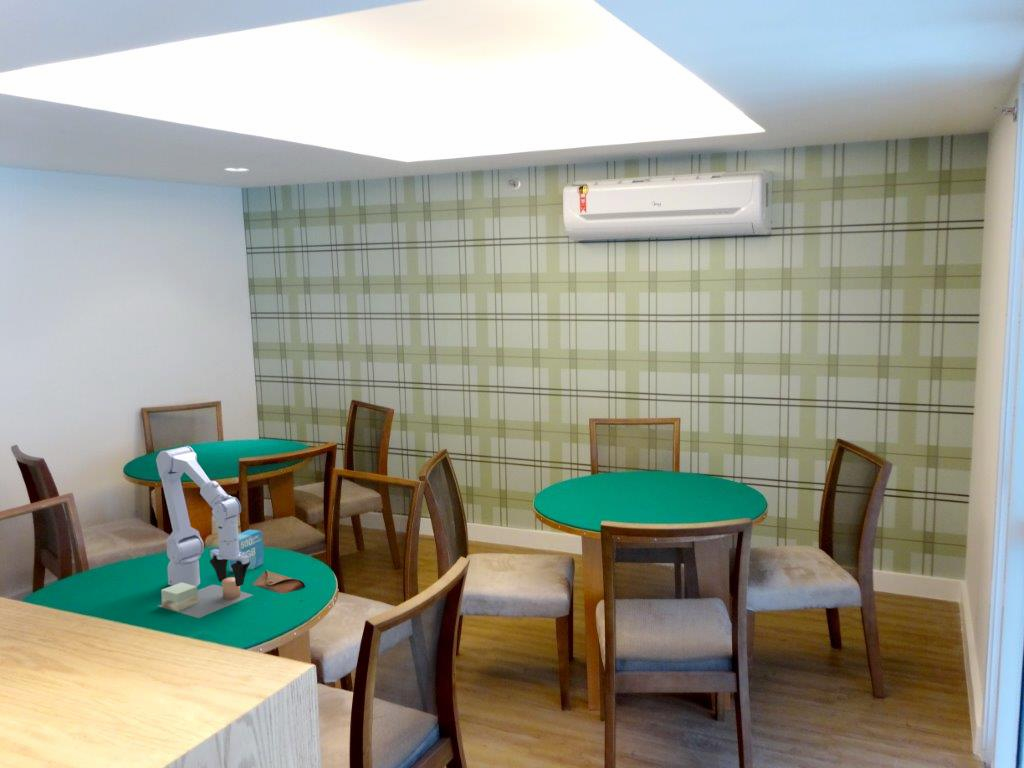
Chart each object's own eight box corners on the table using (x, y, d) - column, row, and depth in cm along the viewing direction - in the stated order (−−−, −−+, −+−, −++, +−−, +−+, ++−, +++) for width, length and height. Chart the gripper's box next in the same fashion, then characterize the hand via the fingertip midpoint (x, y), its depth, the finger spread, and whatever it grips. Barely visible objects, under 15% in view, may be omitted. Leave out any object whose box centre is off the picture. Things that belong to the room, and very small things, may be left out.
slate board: (157, 609, 248) (157, 605, 248) (213, 587, 265) (213, 584, 265) (198, 621, 239) (198, 618, 238) (253, 598, 256) (253, 594, 255)
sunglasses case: (245, 587, 264) (253, 566, 267) (261, 591, 270) (268, 571, 272) (285, 598, 255) (292, 576, 257) (300, 603, 260) (308, 582, 262)
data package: (240, 575, 275) (238, 540, 273) (229, 574, 277) (227, 538, 275) (264, 564, 286) (262, 529, 284) (253, 562, 288) (251, 528, 286)
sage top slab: (161, 598, 247) (161, 589, 247) (182, 590, 253) (181, 582, 253) (177, 602, 243) (176, 594, 243) (197, 594, 249) (197, 586, 249)
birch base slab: (162, 606, 247) (161, 598, 247) (182, 598, 253) (182, 590, 253) (177, 611, 244) (177, 602, 243) (198, 602, 250) (197, 594, 249)
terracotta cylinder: (219, 597, 254) (218, 581, 253) (232, 591, 258) (231, 576, 257) (230, 600, 251) (229, 584, 251) (244, 595, 255) (243, 579, 255)
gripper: (201, 539, 253) (203, 583, 254) (234, 546, 245) (237, 591, 247) (220, 532, 259) (222, 575, 260) (253, 539, 251) (255, 583, 253)
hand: (231, 583), depth 254 cm, fingers open, 7 cm apart
